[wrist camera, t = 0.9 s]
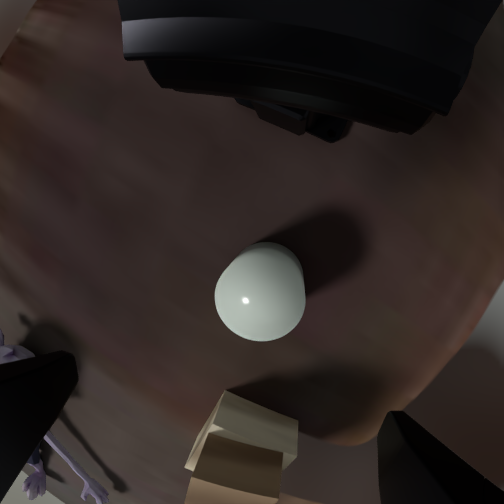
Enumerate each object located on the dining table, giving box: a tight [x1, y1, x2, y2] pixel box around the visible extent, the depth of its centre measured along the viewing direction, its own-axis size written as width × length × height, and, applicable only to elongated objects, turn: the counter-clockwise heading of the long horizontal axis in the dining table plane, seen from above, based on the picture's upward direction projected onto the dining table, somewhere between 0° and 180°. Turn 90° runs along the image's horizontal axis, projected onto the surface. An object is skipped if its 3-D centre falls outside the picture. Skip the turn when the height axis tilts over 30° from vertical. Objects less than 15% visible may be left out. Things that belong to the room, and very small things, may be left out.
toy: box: [0, 329, 109, 504], centre depth 23 cm, size 26×9×30 cm
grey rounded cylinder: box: [215, 242, 305, 341], centre depth 17 cm, size 4×4×4 cm
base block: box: [185, 390, 298, 471], centre depth 20 cm, size 6×6×4 cm
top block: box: [184, 433, 283, 504], centre depth 16 cm, size 5×5×4 cm
